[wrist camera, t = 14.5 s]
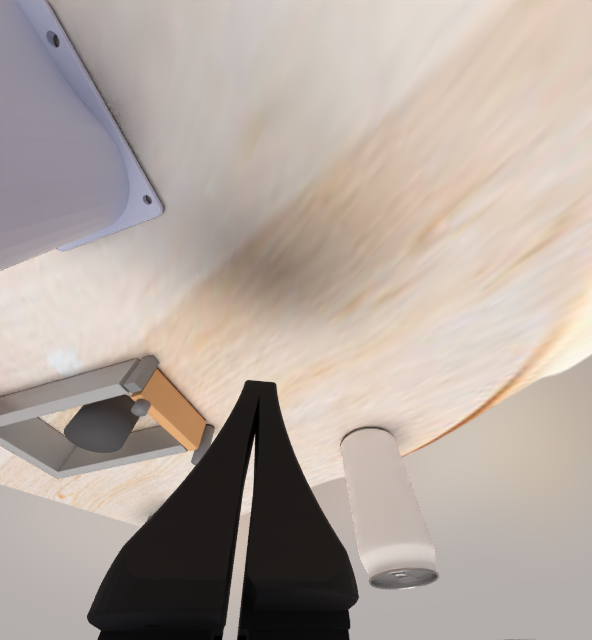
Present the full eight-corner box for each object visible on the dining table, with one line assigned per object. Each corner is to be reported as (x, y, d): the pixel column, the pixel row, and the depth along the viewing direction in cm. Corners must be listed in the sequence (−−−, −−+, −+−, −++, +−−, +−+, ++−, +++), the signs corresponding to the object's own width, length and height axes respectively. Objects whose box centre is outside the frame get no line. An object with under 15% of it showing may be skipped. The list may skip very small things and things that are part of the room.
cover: (145, 372, 23) (123, 406, 20) (158, 367, 23) (137, 401, 20) (205, 434, 29) (195, 468, 26) (216, 431, 29) (207, 466, 25)
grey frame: (-4, 398, 25) (-38, 427, 22) (151, 354, 23) (133, 381, 20) (76, 452, 31) (56, 480, 28) (208, 422, 28) (200, 450, 25)
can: (352, 461, 33) (379, 594, 23) (331, 436, 30) (351, 578, 20) (400, 446, 32) (452, 583, 22) (383, 419, 28) (434, 563, 18)
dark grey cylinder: (78, 396, 25) (50, 427, 22) (121, 385, 25) (99, 416, 22) (111, 425, 28) (90, 456, 25) (151, 416, 27) (134, 447, 24)
